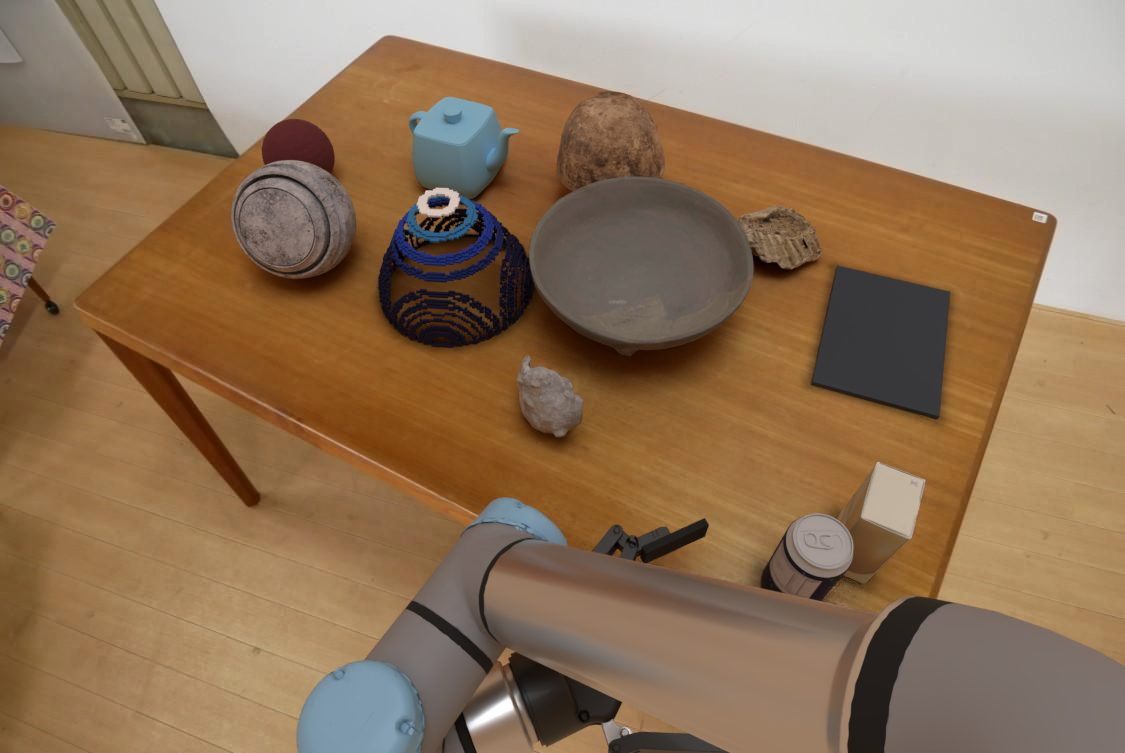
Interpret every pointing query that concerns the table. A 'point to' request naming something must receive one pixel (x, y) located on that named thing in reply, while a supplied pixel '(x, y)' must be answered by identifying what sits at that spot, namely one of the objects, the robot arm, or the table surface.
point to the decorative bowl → (402, 246)
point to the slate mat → (884, 341)
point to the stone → (548, 399)
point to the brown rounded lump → (609, 141)
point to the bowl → (641, 263)
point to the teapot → (458, 146)
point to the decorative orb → (293, 219)
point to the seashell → (781, 236)
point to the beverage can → (809, 557)
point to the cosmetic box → (881, 518)
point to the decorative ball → (298, 144)
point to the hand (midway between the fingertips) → (745, 593)
